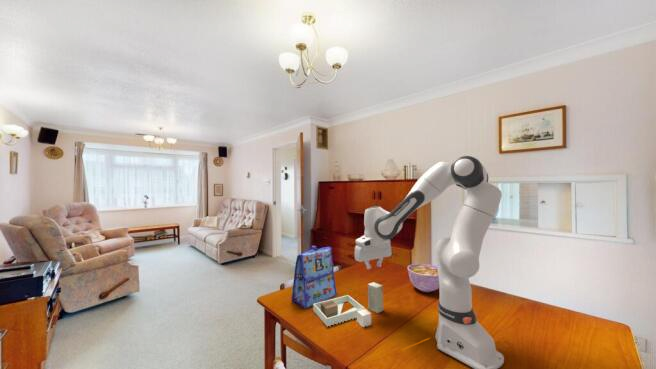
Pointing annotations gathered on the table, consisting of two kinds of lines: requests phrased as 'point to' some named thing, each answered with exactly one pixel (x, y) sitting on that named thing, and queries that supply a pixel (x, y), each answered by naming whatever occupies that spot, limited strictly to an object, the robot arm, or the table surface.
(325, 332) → the table surface
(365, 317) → the cream cube
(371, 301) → the skincare box
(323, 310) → the walnut block
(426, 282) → the bowl of food
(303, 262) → the lunch bag
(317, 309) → the tray
